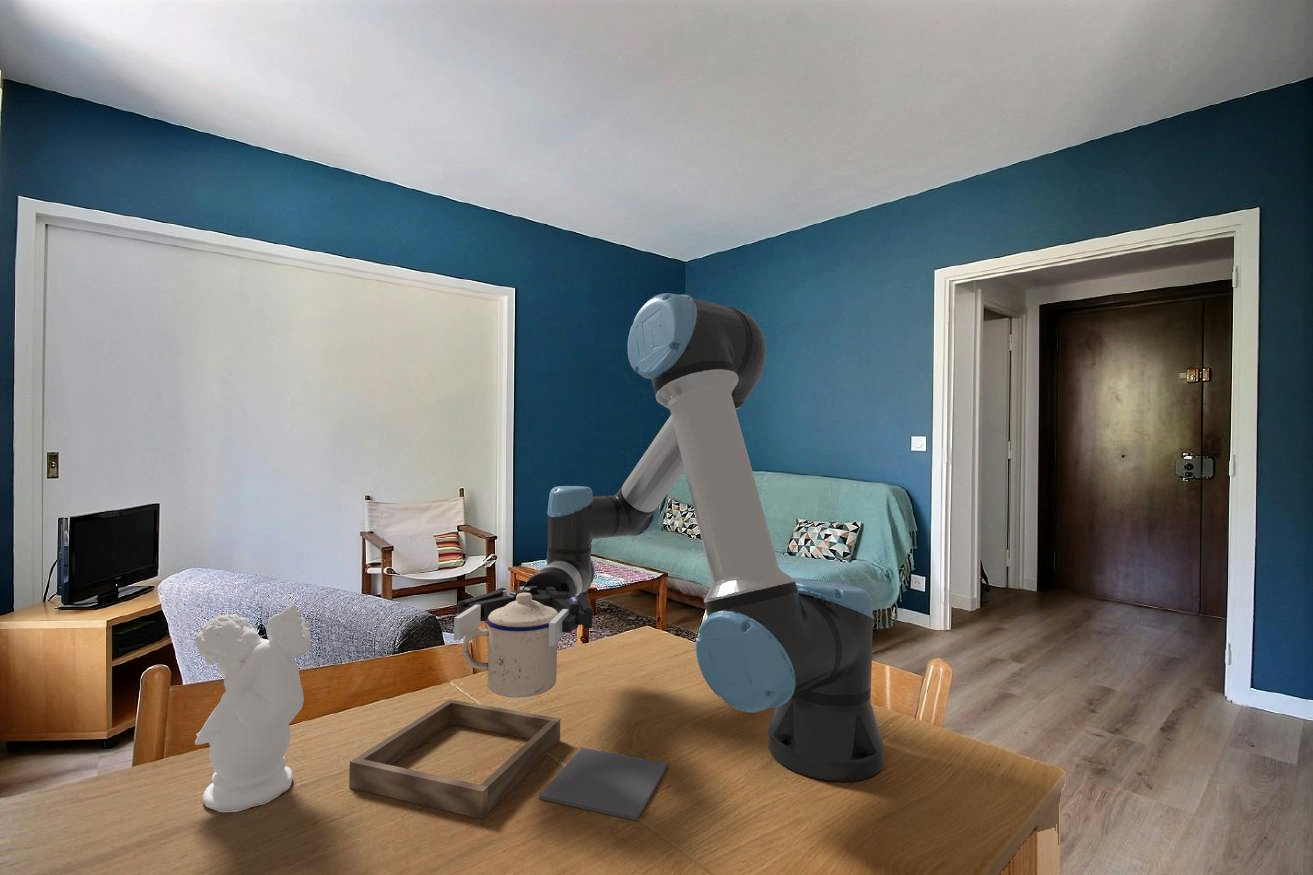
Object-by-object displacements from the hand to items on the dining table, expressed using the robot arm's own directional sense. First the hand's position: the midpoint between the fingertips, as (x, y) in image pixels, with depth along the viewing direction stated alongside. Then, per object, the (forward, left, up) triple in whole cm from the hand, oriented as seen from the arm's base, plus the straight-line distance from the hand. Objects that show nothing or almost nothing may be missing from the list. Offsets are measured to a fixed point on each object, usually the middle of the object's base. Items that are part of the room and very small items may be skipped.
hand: (503, 631), depth 75 cm
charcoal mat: (-12, -4, -18) cm, 22 cm away
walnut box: (+7, -2, -18) cm, 19 cm away
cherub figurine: (+26, +10, -18) cm, 33 cm away
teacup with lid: (+1, -4, -8) cm, 9 cm away
